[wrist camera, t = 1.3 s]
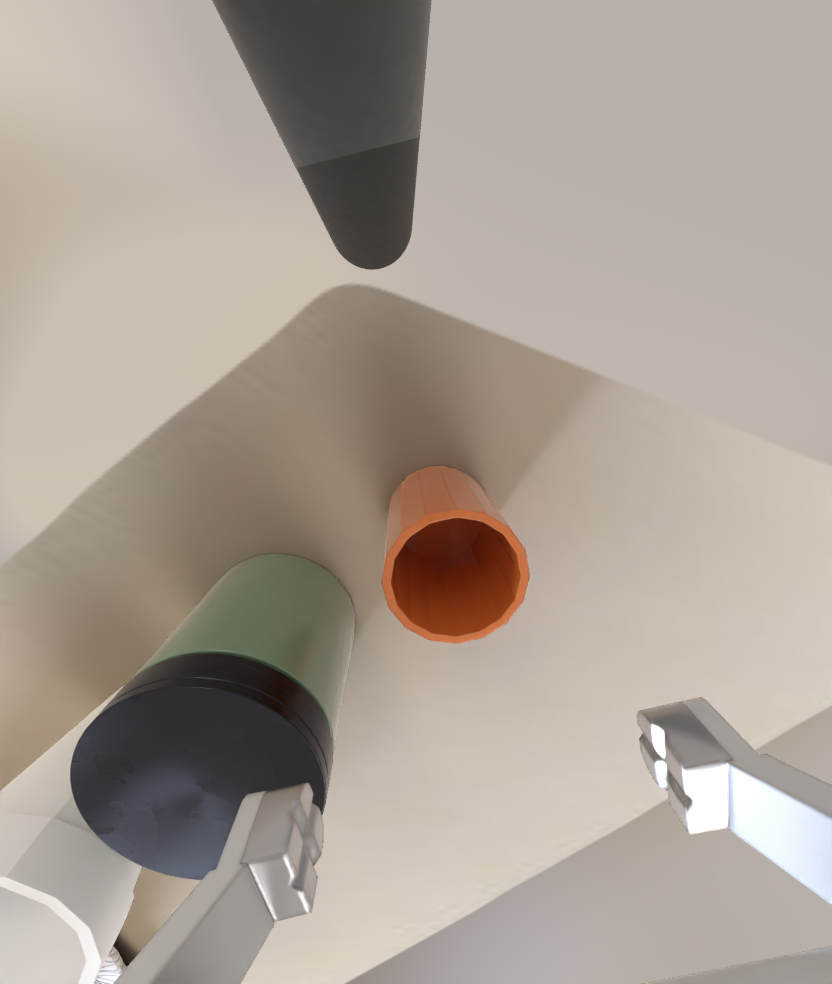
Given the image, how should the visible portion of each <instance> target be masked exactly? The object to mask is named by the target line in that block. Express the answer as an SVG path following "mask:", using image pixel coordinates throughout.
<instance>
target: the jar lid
mask: <svg viewBox="0 0 832 984" xmlns="http://www.w3.org/2000/svg"><path fill="white" fill-rule="evenodd" d="M332 763H333V742H332V736H331V732H330V729H329V725H328V723H327V721H326V719H325V716H324V714H323V713H322V711H321V710H320V708H319V706H318V705H317V703H316V702H315V701H314V700H313V699H312V697H311V696H310V695H309V694H308V693H307V692H306V691H305V690H304V689H303V688H302V687H301V686H300V685H299V684H297V683H296V682H295V681H293V680H292V679H290V678H289V677H288V676H286V675H285V674H283V673H281V672H279V671H277V670H275V669H274V668H272V667H269V666H267V665H264V664H262V663H260V662H257V661H254V660H250V659H247V658H243V657H238V656H232V655H226V654H212V653H211V654H210V653H209V654H193V655H187V656H180V657H176V658H173V659H169V660H166V661H163V662H161V663H158V664H156V665H154V666H151V667H149V668H147V669H146V670H144V671H142V672H141V673H139V674H137V675H136V676H135V677H134V678H132V679H131V680H130V681H129V682H127V683H126V684H125V685H124V686H123V688H122V689H121V690H120V691H119V692H118V693H117V694H116V695H115V697H114V698H113V699H112V700H111V701H110V702H109V703H108V704H107V705H106V707H105V708H104V709H103V710H102V711H101V712H100V713H99V714H98V716H97V717H96V718H95V719H94V720H93V721H92V722H91V723H90V725H89V726H88V727H87V728H86V729H85V731H84V732H83V734H82V736H81V737H80V739H79V740H78V743H77V745H76V747H75V750H74V752H73V756H72V761H71V765H70V783H71V790H72V794H73V797H74V800H75V803H76V806H77V808H78V810H79V812H80V814H81V816H82V817H83V819H84V820H85V822H86V823H87V825H88V826H89V827H90V829H91V830H92V831H93V832H94V833H95V834H96V835H97V836H98V837H99V838H100V839H101V840H102V841H103V842H104V843H105V844H106V845H108V846H109V847H110V848H111V849H113V850H114V851H116V852H117V853H119V854H120V855H121V856H123V857H125V858H127V859H128V860H130V861H132V862H134V863H136V864H138V865H140V866H143V867H145V868H148V869H150V870H153V871H156V872H159V873H163V874H166V875H170V876H175V877H180V878H187V879H195V880H202V879H203V878H204V877H205V876H206V875H207V874H208V872H209V871H212V870H216V868H217V866H218V863H219V860H220V858H221V855H222V852H223V850H224V847H225V844H226V842H227V839H228V836H229V834H230V831H231V829H232V826H233V823H234V821H235V818H236V815H237V813H238V810H239V807H240V805H241V802H242V800H243V799H244V798H245V797H246V795H247V794H252V793H257V792H262V791H267V790H271V789H277V788H282V787H287V786H293V785H298V784H304V783H309V784H310V787H311V789H312V791H313V798H312V803H313V804H314V805H316V806H318V807H319V809H320V812H321V815H323V811H324V807H325V803H326V797H327V791H328V786H329V780H330V774H331V769H332Z"/></svg>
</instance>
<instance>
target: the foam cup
mask: <svg viewBox="0 0 832 984" xmlns="http://www.w3.org/2000/svg"><path fill="white" fill-rule="evenodd" d="M128 682H129V681H128ZM124 685H125V684H124ZM124 685H123V686H124ZM123 686H122V687H121V688H120V689H118V690H117V691H116V692H115V693H114V694H112V695H111V696H110V697H109V698H108V699H106V700H105V701H104V702H103V703H102V704H101V705H99V706H98V707H97V708H96V709H95V710H94V711H92V712H91V713H90V714H89V715H88V716H87V717H85V718H84V719H83V720H82V721H81V722H80V723H79V724H77V725H76V726H75V727H74V728H73V729H72V730H70V731H69V732H68V733H67V734H66V735H65V736H63V737H62V738H61V739H60V740H59V741H58V742H56V743H55V744H54V745H53V746H52V747H51V748H49V749H48V750H47V751H46V752H45V753H44V754H42V755H41V756H40V757H39V758H38V759H37V760H35V761H34V762H33V763H32V764H31V765H30V766H28V767H27V768H26V769H25V770H24V771H23V772H22V773H20V774H19V775H18V776H17V777H16V778H15V779H13V780H12V781H11V782H10V783H9V784H8V785H6V786H5V787H4V788H3V789H2V790H1V791H0V984H94V982H95V980H96V978H97V976H98V974H99V972H100V970H101V968H102V966H103V964H104V962H105V960H106V958H107V956H108V954H109V952H110V950H111V948H112V946H113V944H114V942H115V940H116V939H117V937H118V935H119V933H120V931H121V929H122V927H123V925H124V922H125V920H126V917H127V914H128V912H129V909H130V907H131V904H132V902H133V899H134V893H133V889H134V887H135V884H136V882H137V879H138V877H139V874H140V872H141V869H142V867H143V866H140V865H138V864H136V863H134V862H132V861H130V860H128V859H127V858H125V857H123V856H121V855H120V854H119V853H117V852H116V851H114V850H113V849H111V848H110V847H109V846H108V845H106V844H105V843H104V842H103V841H102V840H101V839H100V838H99V837H98V836H97V835H96V834H95V833H94V832H93V831H92V830H91V829H90V827H89V826H88V825H87V823H86V822H85V820H84V819H83V817H82V816H81V814H80V812H79V810H78V808H77V806H76V803H75V800H74V797H73V794H72V790H71V783H70V765H71V761H72V756H73V752H74V750H75V747H76V745H77V743H78V740H79V739H80V737H81V736H82V734H83V732H84V731H85V729H86V728H87V727H88V726H89V725H90V723H91V722H92V721H93V720H94V719H95V718H96V717H97V716H98V714H99V713H100V712H101V711H102V710H103V709H104V708H105V707H106V705H107V704H108V703H109V702H110V701H111V700H112V699H113V698H114V697H115V695H116V694H117V693H118V692H119V691H120V690H121V689H122V688H123Z"/></svg>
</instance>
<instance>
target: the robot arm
mask: <svg viewBox="0 0 832 984" xmlns="http://www.w3.org/2000/svg"><path fill="white" fill-rule="evenodd" d="M637 723H638V725H639V727H640V728H641V730H642V731H643V734H642V735H641V737H640V738H639V741H640V748H641V752H642V755H643V758H644V761H645V764H646V766H647V768H648V770H649V772H650V774H651V775H652V777H653V779H654V780H655V782H656V783H657V785H659V786H661V787H662V788H664V789H665V790H667V791H668V796H669V804H670V806H671V807H672V809H673V810H674V812H675V813H676V815H677V816H678V818H679V820H680V821H681V823H682V824H683V826H684V827H685V829H686V830H687V832H688V834H695V833H701V832H706V831H712V830H718V829H724V828H730V831H732V832H734V833H735V834H736V835H737V836H739V837H740V838H741V839H743V840H744V841H745V842H747V843H748V844H750V845H751V846H752V847H754V848H755V849H756V850H758V851H759V852H760V853H762V854H763V855H764V856H766V857H767V858H768V859H770V860H771V861H773V862H774V863H775V864H777V865H778V866H779V867H781V868H782V869H784V870H785V871H786V872H787V873H789V874H790V875H792V876H793V877H794V878H796V879H797V880H799V881H800V882H801V883H803V884H804V885H805V886H807V887H808V888H809V889H811V890H812V891H813V892H815V893H816V894H817V895H819V896H820V897H821V898H823V899H824V900H826V901H827V902H828V903H830V904H831V905H832V785H830V784H828V783H826V782H824V781H822V780H820V779H818V778H816V777H814V776H812V775H809V774H807V773H805V772H803V771H801V770H799V769H797V768H795V767H793V766H791V765H788V764H786V763H784V762H782V761H780V760H778V759H776V758H774V757H772V756H770V755H768V754H762V755H759V754H758V753H757V752H756V751H755V750H754V749H753V748H752V747H751V746H750V745H749V744H748V743H747V742H746V741H745V740H744V739H743V738H742V737H741V736H740V735H739V734H738V733H737V731H736V730H735V729H734V728H733V727H732V726H731V725H730V724H729V723H728V722H727V721H726V720H725V719H724V718H723V717H722V716H721V715H720V714H719V713H718V712H717V711H716V710H715V709H714V708H713V707H712V706H711V705H710V704H709V703H708V701H707V700H705V699H703V698H701V697H699V698H695V699H690V700H686V701H681V702H676V703H671V704H667V705H663V706H658V707H654V708H650V709H645V710H641V711H638V714H637ZM312 798H313V791H312V789H311V787H310V784H309V783H304V784H298V785H293V786H287V787H282V788H277V789H271V790H267V791H262V792H257V793H252V794H247V795H246V797H245V798H244V799H243V800H242V802H241V805H240V807H239V810H238V813H237V815H236V818H235V821H234V823H233V826H232V829H231V831H230V834H229V836H228V839H227V842H226V844H225V847H224V850H223V852H222V855H221V858H220V860H219V863H218V866H217V868H216V870H212V871H209V872H208V874H207V875H206V876H205V877H204V878H203V879H202V881H201V882H200V883H199V884H198V885H197V886H196V888H195V889H194V890H193V891H192V892H191V893H190V894H189V896H188V897H187V898H186V899H185V900H184V901H183V903H182V904H181V905H180V906H179V907H178V908H177V910H176V911H175V912H174V913H173V914H172V915H171V917H170V918H169V919H168V920H167V921H166V922H165V923H164V925H163V926H162V927H161V928H160V929H159V930H158V932H157V933H156V934H155V935H154V936H153V937H152V939H151V940H150V941H149V942H148V943H147V944H146V946H145V947H144V948H143V949H142V950H141V951H140V952H139V954H138V955H137V956H136V957H135V958H134V959H133V961H132V962H131V963H130V964H129V965H128V966H127V968H126V969H125V970H124V971H123V972H122V973H121V974H120V976H119V977H118V978H117V979H116V980H115V981H114V983H113V984H240V983H241V982H242V980H243V978H244V976H245V975H246V973H247V971H248V970H249V968H250V966H251V964H252V963H253V961H254V959H255V957H256V956H257V954H258V952H259V950H260V949H261V947H262V945H263V944H264V942H265V940H266V938H267V937H268V935H269V933H270V931H271V930H272V928H273V926H274V922H275V921H279V920H284V919H288V918H292V917H296V916H300V915H304V914H308V913H312V908H313V902H314V896H315V890H316V884H317V878H318V877H317V874H316V871H315V869H314V865H315V864H316V862H317V861H318V859H319V858H320V856H321V854H322V848H323V820H322V815H321V812H320V809H319V807H318V806H316V805H314V804H313V803H312ZM643 984H832V946H829V947H824V948H819V949H814V950H809V951H804V952H799V953H794V954H789V955H784V956H779V957H774V958H769V959H764V960H759V961H754V962H749V963H744V964H739V965H734V966H729V967H724V968H719V969H714V970H709V971H704V972H699V973H693V974H688V975H684V976H678V977H673V978H668V979H663V980H658V981H653V982H648V983H643Z"/></svg>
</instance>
